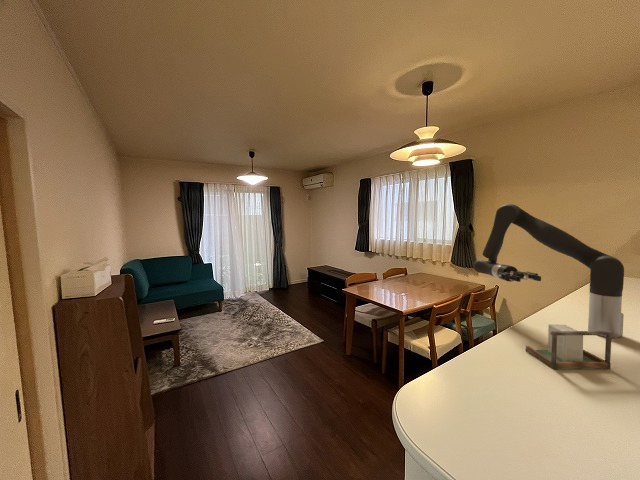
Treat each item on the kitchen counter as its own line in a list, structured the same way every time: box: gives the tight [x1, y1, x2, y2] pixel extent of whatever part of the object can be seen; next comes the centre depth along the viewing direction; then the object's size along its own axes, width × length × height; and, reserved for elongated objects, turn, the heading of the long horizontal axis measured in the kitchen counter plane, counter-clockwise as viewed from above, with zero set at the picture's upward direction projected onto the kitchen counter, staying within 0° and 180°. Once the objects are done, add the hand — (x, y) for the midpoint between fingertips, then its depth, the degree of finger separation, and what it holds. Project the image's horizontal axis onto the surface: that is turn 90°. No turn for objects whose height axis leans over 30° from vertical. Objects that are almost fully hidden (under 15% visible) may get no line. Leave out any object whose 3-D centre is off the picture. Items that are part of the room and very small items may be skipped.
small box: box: [547, 323, 584, 362], centre depth 90 cm, size 8×6×10 cm
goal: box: [525, 330, 613, 370], centre depth 90 cm, size 18×12×12 cm, turn 87°
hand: (529, 279), depth 110 cm, fingers open, 8 cm apart
